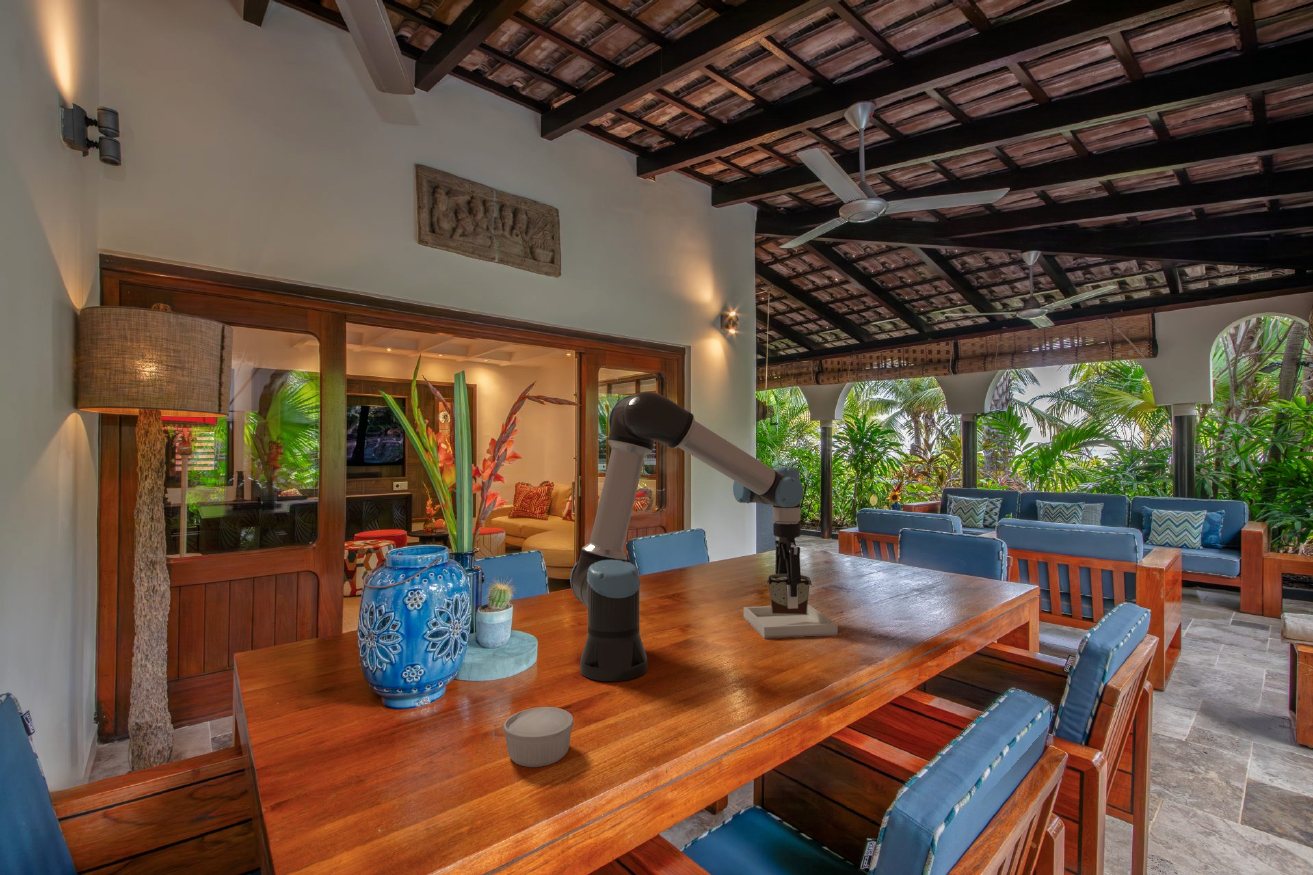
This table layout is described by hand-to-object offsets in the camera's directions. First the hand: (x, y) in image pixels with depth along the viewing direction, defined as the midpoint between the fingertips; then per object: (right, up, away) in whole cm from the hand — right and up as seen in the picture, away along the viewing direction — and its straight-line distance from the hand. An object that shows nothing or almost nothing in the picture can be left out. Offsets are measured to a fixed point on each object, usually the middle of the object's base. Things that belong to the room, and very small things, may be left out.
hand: (788, 604), depth 164 cm
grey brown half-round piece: (0, -2, 0) cm, 2 cm away
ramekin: (-56, -5, -69) cm, 89 cm away
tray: (0, -6, 0) cm, 6 cm away
